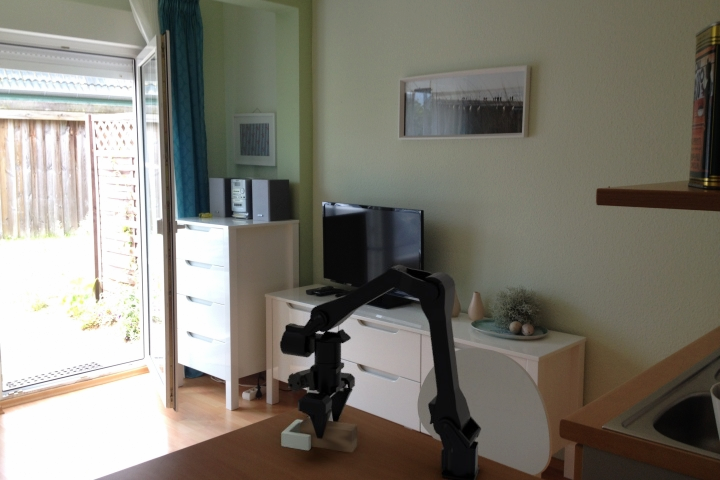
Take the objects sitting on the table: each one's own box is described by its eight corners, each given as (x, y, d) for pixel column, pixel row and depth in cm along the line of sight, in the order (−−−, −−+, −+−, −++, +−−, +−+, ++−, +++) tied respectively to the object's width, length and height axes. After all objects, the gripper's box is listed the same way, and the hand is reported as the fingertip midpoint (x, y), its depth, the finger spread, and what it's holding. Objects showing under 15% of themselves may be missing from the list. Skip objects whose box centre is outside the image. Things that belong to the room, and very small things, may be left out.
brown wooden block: (357, 446, 141) (357, 424, 140) (351, 453, 137) (351, 431, 137) (306, 438, 145) (306, 417, 144) (299, 445, 141) (299, 423, 141)
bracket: (322, 435, 146) (322, 423, 145) (308, 450, 138) (308, 437, 138) (296, 431, 148) (296, 419, 147) (281, 446, 140) (281, 432, 140)
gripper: (310, 344, 150) (310, 409, 152) (274, 368, 133) (275, 441, 134) (355, 349, 146) (355, 415, 148) (324, 374, 129) (324, 449, 131)
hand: (327, 429), depth 141 cm, fingers open, 9 cm apart
